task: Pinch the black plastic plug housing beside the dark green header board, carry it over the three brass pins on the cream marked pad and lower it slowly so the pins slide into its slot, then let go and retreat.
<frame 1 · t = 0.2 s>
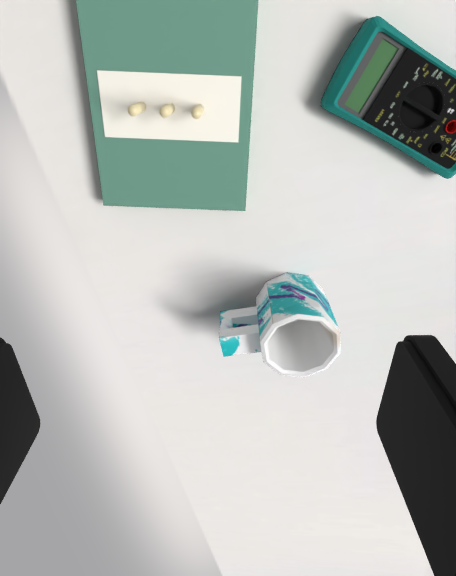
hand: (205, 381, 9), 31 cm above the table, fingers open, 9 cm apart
mug: (272, 304, 45), on the table
digital multimeter: (404, 102, 34), on the table
header board: (172, 80, 33), on the table
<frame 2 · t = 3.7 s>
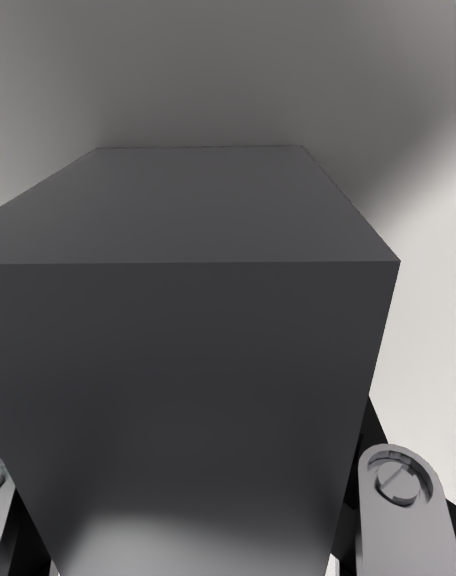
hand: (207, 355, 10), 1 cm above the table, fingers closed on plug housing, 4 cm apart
plug housing: (208, 342, 11), on the table, touching gripper
when the fingers open (2 cm above the table, at t = 10.2 s): plug housing stays where it is, resting on header board.
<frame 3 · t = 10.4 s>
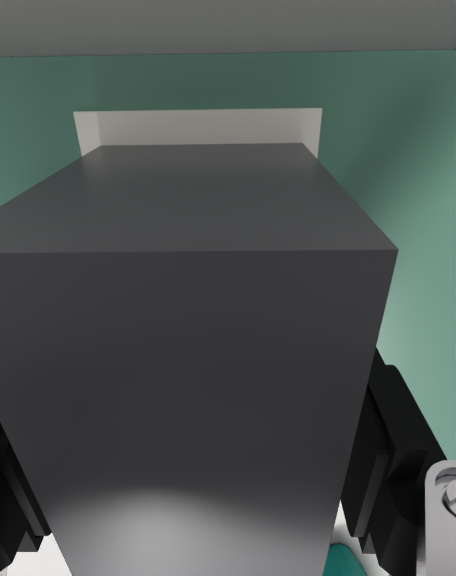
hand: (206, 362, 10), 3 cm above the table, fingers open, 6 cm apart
plug housing: (210, 338, 11), point 2 cm above the table, touching header board
header board: (273, 307, 12), on the table
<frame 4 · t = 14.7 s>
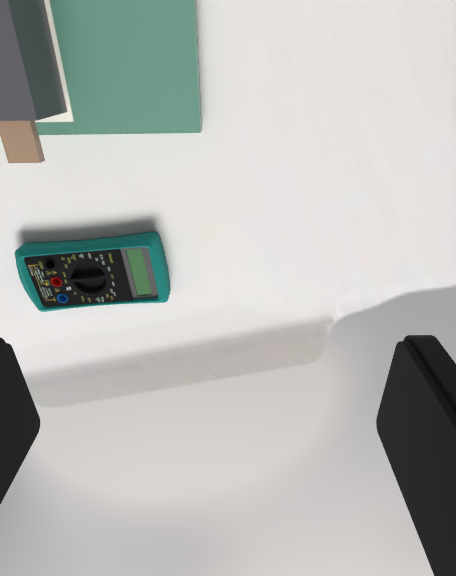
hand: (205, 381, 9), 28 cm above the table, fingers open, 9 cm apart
plug housing: (21, 34, 28), point 2 cm above the table, touching header board
digital multimeter: (100, 266, 40), on the table
header board: (56, 35, 30), on the table
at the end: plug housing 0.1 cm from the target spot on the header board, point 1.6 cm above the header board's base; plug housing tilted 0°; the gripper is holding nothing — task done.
